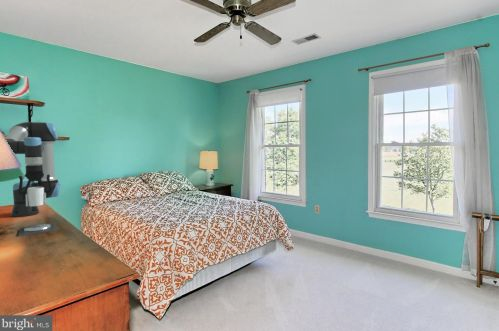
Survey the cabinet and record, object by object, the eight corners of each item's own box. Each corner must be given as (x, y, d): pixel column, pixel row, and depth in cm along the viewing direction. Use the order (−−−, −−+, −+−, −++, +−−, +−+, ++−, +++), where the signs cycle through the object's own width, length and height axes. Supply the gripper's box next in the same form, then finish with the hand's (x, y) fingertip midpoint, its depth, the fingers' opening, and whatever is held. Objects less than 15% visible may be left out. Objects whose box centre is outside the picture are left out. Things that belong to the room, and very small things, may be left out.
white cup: (24, 205, 151) (23, 188, 151) (40, 203, 158) (39, 186, 158) (32, 207, 148) (31, 189, 147) (48, 204, 155) (47, 187, 154)
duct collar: (20, 229, 155) (20, 226, 154) (54, 224, 164) (54, 221, 164) (18, 236, 144) (18, 232, 143) (55, 230, 153) (55, 227, 153)
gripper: (9, 166, 142) (12, 208, 144) (56, 164, 155) (58, 203, 157) (10, 165, 148) (12, 206, 149) (55, 163, 161) (57, 201, 162)
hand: (36, 204), depth 153 cm, fingers closed on white cup, 7 cm apart
